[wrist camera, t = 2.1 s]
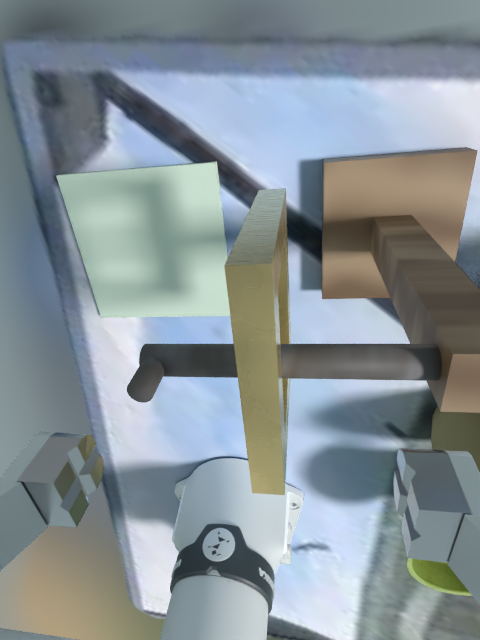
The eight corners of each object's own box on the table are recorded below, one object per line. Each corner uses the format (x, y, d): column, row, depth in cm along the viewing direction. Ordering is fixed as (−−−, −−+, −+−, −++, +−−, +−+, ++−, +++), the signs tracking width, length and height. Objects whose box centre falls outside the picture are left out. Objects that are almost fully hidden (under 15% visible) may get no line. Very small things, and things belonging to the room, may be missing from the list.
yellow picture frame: (291, 352, 29) (284, 495, 18) (270, 352, 29) (252, 493, 19) (285, 188, 23) (271, 263, 12) (259, 190, 23) (224, 265, 13)
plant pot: (370, 457, 48) (387, 547, 38) (469, 427, 43) (516, 521, 34) (408, 510, 52) (432, 603, 43) (502, 488, 48) (552, 587, 38)
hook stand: (441, 286, 36) (602, 508, 16) (227, 291, 39) (154, 479, 20) (467, 147, 30) (767, 240, 10) (211, 168, 33) (88, 266, 14)
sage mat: (234, 313, 40) (233, 315, 40) (103, 314, 43) (101, 317, 42) (216, 161, 33) (215, 162, 32) (59, 174, 35) (56, 175, 35)
